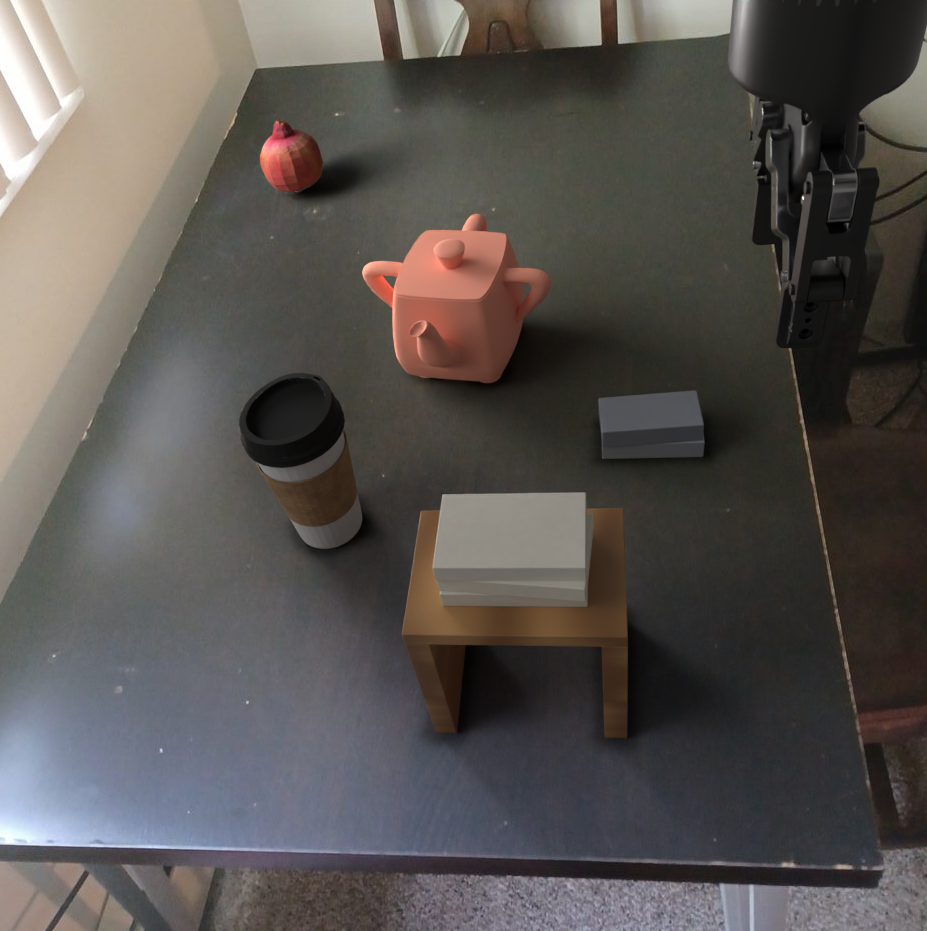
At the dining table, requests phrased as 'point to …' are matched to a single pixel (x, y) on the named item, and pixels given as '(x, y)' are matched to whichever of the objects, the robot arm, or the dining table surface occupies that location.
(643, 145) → the dining table surface
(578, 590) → the white books
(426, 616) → the shelf
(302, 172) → the fruit
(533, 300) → the teapot
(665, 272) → the dining table surface
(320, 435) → the coffee cup
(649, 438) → the grey books
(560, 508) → the white book
